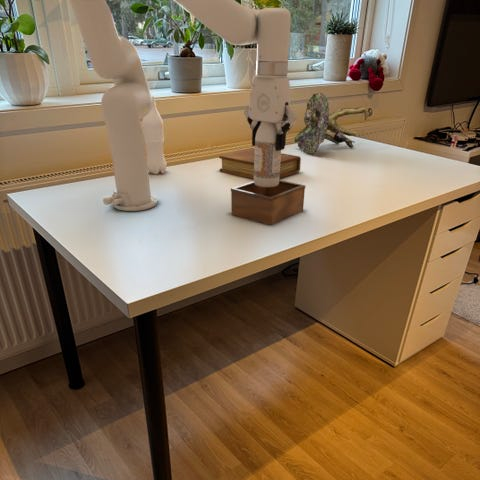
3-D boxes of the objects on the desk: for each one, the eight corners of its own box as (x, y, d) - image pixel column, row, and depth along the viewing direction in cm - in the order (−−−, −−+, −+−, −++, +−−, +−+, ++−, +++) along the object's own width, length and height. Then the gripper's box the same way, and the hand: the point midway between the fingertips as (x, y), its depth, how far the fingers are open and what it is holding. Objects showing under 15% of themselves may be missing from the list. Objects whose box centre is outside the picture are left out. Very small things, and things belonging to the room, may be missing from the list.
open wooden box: (270, 225, 118) (271, 198, 114) (230, 214, 126) (230, 188, 122) (303, 210, 128) (305, 185, 124) (265, 201, 136) (266, 176, 132)
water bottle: (169, 170, 168) (163, 95, 154) (164, 175, 162) (157, 98, 148) (150, 169, 168) (142, 95, 155) (145, 174, 162) (136, 98, 149)
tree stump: (341, 138, 174) (386, 121, 194) (303, 85, 176) (351, 73, 196) (306, 175, 193) (351, 156, 213) (272, 127, 194) (320, 112, 215)
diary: (300, 172, 165) (301, 156, 162) (267, 182, 153) (267, 165, 150) (253, 162, 178) (253, 147, 175) (219, 171, 166) (219, 155, 163)
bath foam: (249, 182, 124) (251, 102, 113) (270, 179, 127) (274, 101, 116) (261, 189, 119) (265, 106, 108) (283, 186, 122) (289, 105, 111)
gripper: (234, 68, 111) (233, 144, 120) (292, 72, 101) (286, 155, 111) (253, 67, 115) (251, 140, 125) (310, 71, 106) (303, 150, 116)
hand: (268, 146), depth 118 cm, fingers closed on bath foam, 7 cm apart
